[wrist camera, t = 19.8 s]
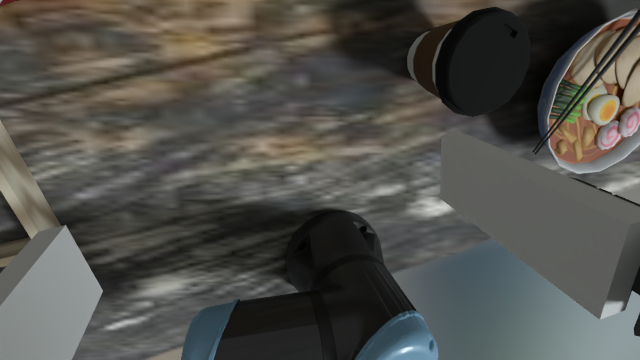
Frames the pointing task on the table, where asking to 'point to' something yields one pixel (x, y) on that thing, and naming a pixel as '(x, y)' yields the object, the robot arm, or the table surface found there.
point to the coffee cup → (473, 61)
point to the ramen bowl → (594, 98)
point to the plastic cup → (6, 2)
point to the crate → (21, 198)
